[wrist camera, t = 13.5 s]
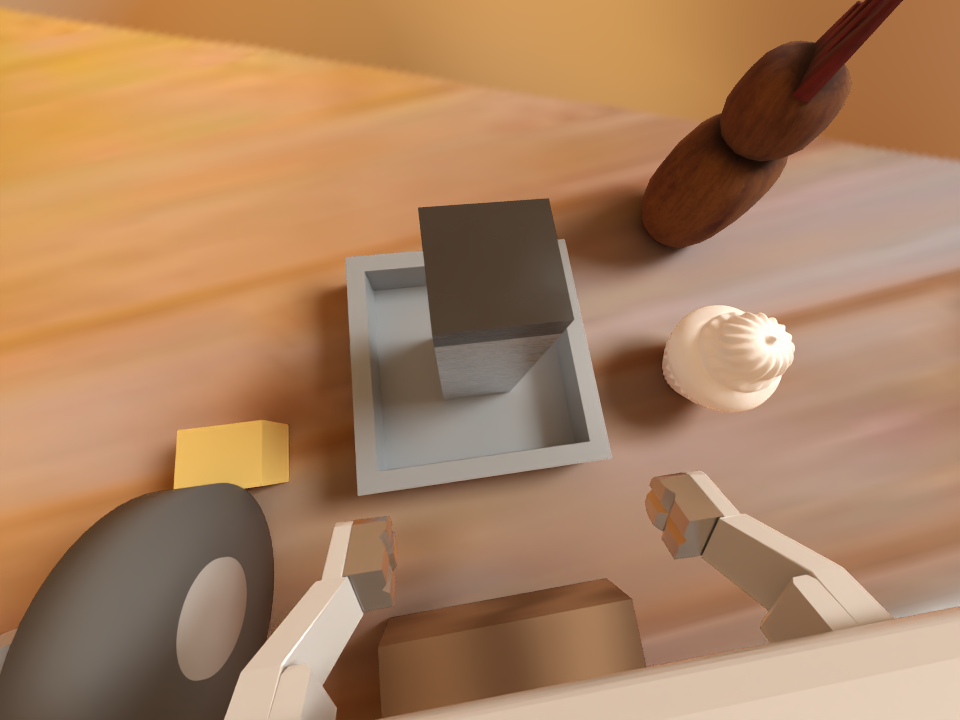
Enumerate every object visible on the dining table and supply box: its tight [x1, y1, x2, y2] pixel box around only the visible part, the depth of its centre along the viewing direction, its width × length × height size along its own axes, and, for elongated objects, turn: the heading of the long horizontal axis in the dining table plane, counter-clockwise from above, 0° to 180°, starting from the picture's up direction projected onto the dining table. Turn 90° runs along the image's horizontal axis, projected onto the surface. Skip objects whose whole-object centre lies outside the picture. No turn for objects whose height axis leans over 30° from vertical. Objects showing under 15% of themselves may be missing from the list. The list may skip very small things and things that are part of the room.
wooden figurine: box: [642, 0, 903, 248], centre depth 19 cm, size 7×6×15 cm
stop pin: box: [418, 198, 574, 400], centre depth 16 cm, size 4×4×12 cm
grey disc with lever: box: [0, 420, 289, 720], centre depth 12 cm, size 7×13×15 cm, turn 8°
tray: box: [345, 239, 612, 496], centre depth 21 cm, size 13×13×3 cm
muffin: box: [662, 305, 795, 412], centre depth 20 cm, size 6×6×7 cm
